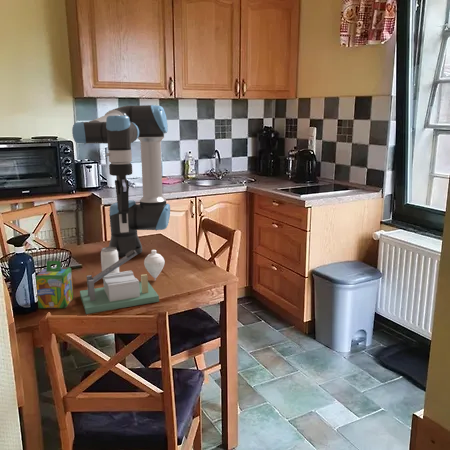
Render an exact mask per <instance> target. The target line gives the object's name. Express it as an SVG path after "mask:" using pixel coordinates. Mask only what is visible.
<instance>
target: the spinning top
mask: <svg viewBox="0 0 450 450" xmlns="http://www.w3.org/2000/svg"><path fill="white" fill-rule="evenodd" d="M143 265H144V268H145V270H146V271H147V273H148V274H150V276H151V277H152V278H153V279H154V281H156V280H157V278H158V276H160V274H161V272H162V271H163V268H164V267H165V258H164V256H162V255H161V254H160V253H157V250H156V249H151V252H150V253H149V254H148V255H146V257H145V258H144V261H143Z"/></svg>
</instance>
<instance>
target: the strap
mask: <svg viewBox="0 0 450 450" xmlns="http://www.w3.org/2000/svg"><path fill="white" fill-rule="evenodd" d="M125 255H126V256H125V257H121V258H120V259H119V261H117V262H116V263H114V264H113V265H111V266H110V267H108V268H107V269H105V270H104V271H102V270H101V271H100V272H99V273H97V274H96V275H94V276H93V277H92V278H91V279H89V280H94V284H95V283H97V282H98V281H100V280H102V279H103V277H104V276H106V275H107V274H109V273H110V272H112V271H113V270H115V269H116V268H118V267H119V268H120V267H121V266H122V265H124V264H125V263H127V262H129V261H130V260H131V259H132V258H134V257H135V256H137V255H138V254H137V252H136V251H135V250H134V251H133V250H131V251H130V252H128V253H126V254H125Z"/></svg>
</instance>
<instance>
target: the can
mask: <svg viewBox="0 0 450 450" xmlns="http://www.w3.org/2000/svg"><path fill="white" fill-rule="evenodd" d="M116 249H117V248H116V247H109V246H106V247H102V248H101V251H100V262H101V263H100V266H101V272H102V271H104V270H105V269H107V268H108V267H110V266H111V265H113V264H114V263H116V262H117V261H119V260H120V259H119V257H118V251H117V250H116ZM117 272H120V266H119V267H118V268H116V269H115V270H113V271H112V272H110V273H117ZM110 273H109V274H110Z"/></svg>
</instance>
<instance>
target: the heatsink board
mask: <svg viewBox="0 0 450 450" xmlns="http://www.w3.org/2000/svg"><path fill="white" fill-rule="evenodd" d="M91 278H93V277H92V275H91V274H89V275H86V284H87V289H85V290H84V289H83V290H79V296H80V300H81V303H82V305H83V308H84V309H83V310H84V312H85V314H86V315H89V314H94V313H101V312H106V311H113V310H117V309H123V308H129V307H134V306H140V305H146V304H152V303H153V304H154V303H157V302H160V296H159V294H158V293H157V291H156V290H155V289H154V288H153V286H152V284H150V282H149V279H148V278H149V277H148V274H147V273H146V274H140V281H139V278H136V277H135V275H134V271H132V270H126V271H125V270H124V271H119V272H117V273H110V274H107V275H106V276H104V277H103V278H102V280H103V287H97V288H95V283H94V280H89V279H91Z"/></svg>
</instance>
